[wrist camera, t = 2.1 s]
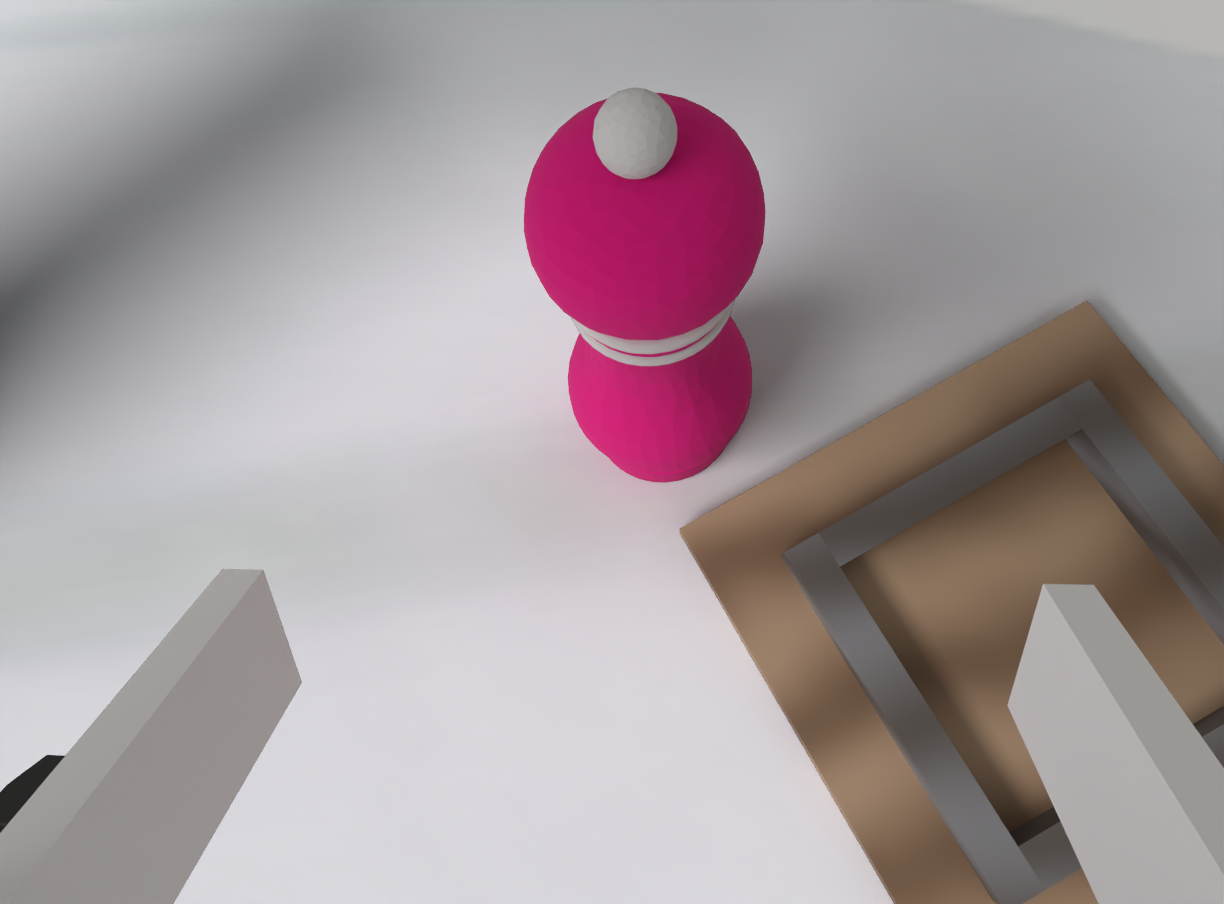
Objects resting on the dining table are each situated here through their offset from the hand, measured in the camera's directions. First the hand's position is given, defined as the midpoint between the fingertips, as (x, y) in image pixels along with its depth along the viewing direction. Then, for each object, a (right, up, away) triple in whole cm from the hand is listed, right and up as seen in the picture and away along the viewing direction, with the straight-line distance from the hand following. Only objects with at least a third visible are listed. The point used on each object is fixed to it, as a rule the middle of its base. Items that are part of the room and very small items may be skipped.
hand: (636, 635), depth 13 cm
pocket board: (+16, -4, +17) cm, 24 cm away
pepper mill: (+2, +5, +21) cm, 22 cm away
